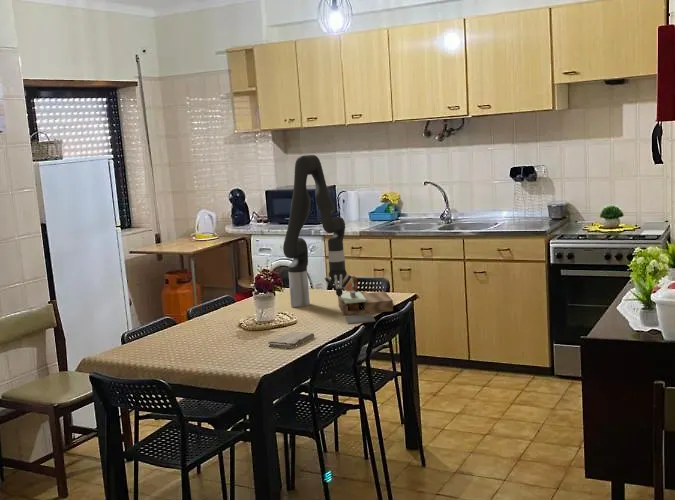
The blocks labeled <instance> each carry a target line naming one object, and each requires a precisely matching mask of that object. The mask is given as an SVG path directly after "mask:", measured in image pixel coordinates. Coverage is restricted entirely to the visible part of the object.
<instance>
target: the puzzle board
mask: <svg viewBox="0 0 675 500" xmlns="http://www.w3.org/2000/svg"><path fill="white" fill-rule="evenodd" d="M361 293H362V292H361ZM362 295H363V296H364V297H365V299H366V302H359V307H360V308H361V307H362V308H361V309H359V310H351V311H349V309H348V304H345V303H344V301H343V299H342V298H341V296H339V297H338V296H337V300H338V307H339V310H340V311H341V312H342V313H341V314H342V315H343V316H344V317H347V316H357V315H368V314H375V313H384V312H385V313H386V312H394V302H393V301H394V300H393V299H392V298H391V297H390V296H389V294H388V293H387V292H386V291H375V292H374V291H373V292H365V293H362Z"/></svg>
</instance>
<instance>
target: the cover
mask: <svg viewBox="0 0 675 500" xmlns="http://www.w3.org/2000/svg"><path fill="white" fill-rule="evenodd" d="M341 298H342V299H343V301H344V303H345V304H348V303H358V302H366V299H365V297H364V296H363V295H362V291H350V292H346V293H343V292H342V295H341Z"/></svg>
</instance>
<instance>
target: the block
mask: <svg viewBox="0 0 675 500" xmlns="http://www.w3.org/2000/svg"><path fill="white" fill-rule="evenodd" d="M351 310H360V305H359V302H358V303H348V311H351Z"/></svg>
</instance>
